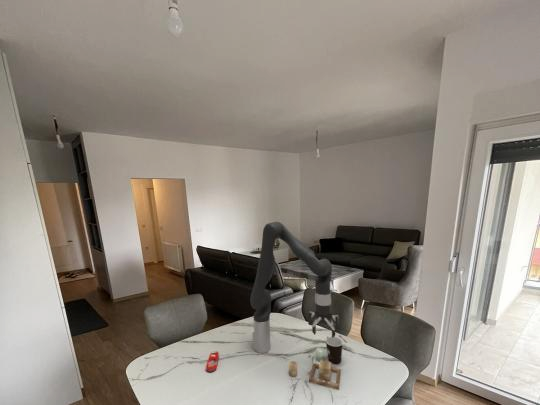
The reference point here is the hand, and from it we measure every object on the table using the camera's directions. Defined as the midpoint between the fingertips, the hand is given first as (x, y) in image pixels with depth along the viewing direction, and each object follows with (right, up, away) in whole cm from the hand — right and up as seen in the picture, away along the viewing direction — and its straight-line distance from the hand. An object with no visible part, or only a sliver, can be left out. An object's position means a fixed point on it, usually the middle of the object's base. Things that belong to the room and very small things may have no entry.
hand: (323, 335), depth 111 cm
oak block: (+1, -20, 0) cm, 20 cm away
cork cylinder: (-15, -20, +2) cm, 25 cm away
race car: (-56, -22, +11) cm, 61 cm away
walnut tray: (+1, -20, 0) cm, 20 cm away
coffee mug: (+9, -20, +13) cm, 25 cm away
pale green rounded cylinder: (+1, -20, +12) cm, 24 cm away
